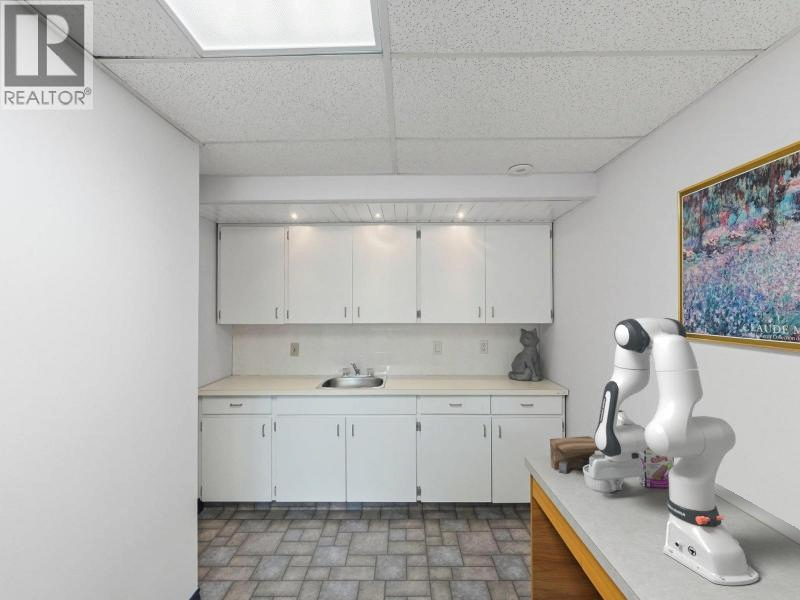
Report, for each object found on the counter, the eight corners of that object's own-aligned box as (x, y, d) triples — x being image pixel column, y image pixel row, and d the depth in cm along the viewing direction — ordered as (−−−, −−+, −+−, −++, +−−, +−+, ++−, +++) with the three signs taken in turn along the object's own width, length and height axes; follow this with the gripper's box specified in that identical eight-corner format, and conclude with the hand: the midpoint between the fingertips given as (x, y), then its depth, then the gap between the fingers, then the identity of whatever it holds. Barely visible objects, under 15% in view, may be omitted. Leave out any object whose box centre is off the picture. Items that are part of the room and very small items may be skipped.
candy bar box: (645, 488, 161) (644, 446, 161) (639, 482, 166) (638, 442, 166) (675, 488, 160) (674, 446, 160) (668, 483, 165) (667, 442, 165)
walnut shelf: (609, 475, 173) (608, 446, 173) (567, 479, 171) (566, 449, 171) (590, 463, 187) (589, 436, 187) (550, 466, 185) (550, 438, 185)
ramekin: (576, 482, 168) (575, 465, 168) (603, 478, 171) (602, 461, 171) (599, 497, 155) (598, 478, 155) (628, 492, 158) (627, 474, 158)
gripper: (594, 457, 150) (595, 495, 150) (645, 453, 152) (646, 490, 152) (584, 451, 156) (585, 487, 156) (633, 447, 158) (634, 483, 158)
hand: (616, 489), depth 154 cm, fingers closed
